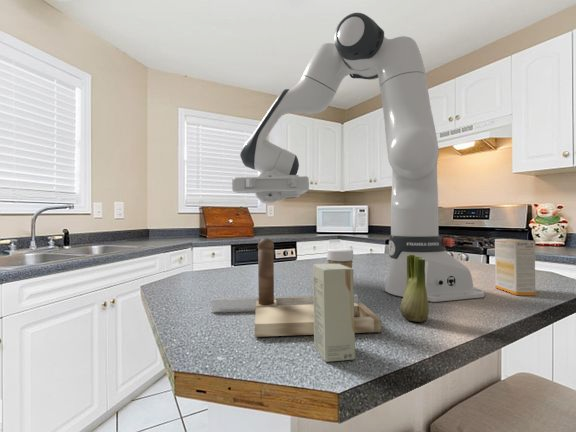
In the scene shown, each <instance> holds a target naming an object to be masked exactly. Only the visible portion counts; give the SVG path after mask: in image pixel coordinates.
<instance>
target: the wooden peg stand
mask: <svg viewBox="0 0 576 432" xmlns="http://www.w3.org/2000/svg"><path fill="white" fill-rule="evenodd" d="M274 248H275V244H274V241H272V239H270V238H267V237H264V238H262V239H260V240H259V241H258V243H257V252H258V253H257V257H258V260H257V261H258V263H257V265H258V267H257V268H258V277H257V278H258V284H257V285H258V297H259V300H258V301H256V311H254V313H255V316H254V337H256V338H258V337H260V338H261V337H279V336H281V337H284V336H285V337H286V336H307V335H313V336H314V304H310V305H277V303H276V300H274V297H275V288H274V287H275V281H274V279H275V278H274V277H275V276H274V275H275V272H274V271H275V270H274V269H275V268H274V267H275V266H274V264H275V261H274V258H275V257H274V255H275V253H274ZM354 329H355V334H360V333H362V334H363V333H382V319H381V318H380V317H378V316H377V314H376V313H374V312H373V310H371V309H369V308H368V307H367V306H366V305H365V304H363V302H358V303H354Z"/></svg>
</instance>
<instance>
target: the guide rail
mask: <svg viewBox="0 0 576 432" xmlns="http://www.w3.org/2000/svg"><path fill="white" fill-rule="evenodd" d="M258 300H259V296H250V297H249V296H248V297H243V296H242V297H217V298H215V297H213V298H212V299H211V313H240V312H243V313H244V312H256V301H258ZM274 300H276V303H277V305H310V304H314V298H313V294H312V295H284V296H282V295H281V296H280V295H279V296H276V295H274ZM354 303H359V295H358V294H356V293H355V294H354Z"/></svg>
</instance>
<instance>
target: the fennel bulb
mask: <svg viewBox="0 0 576 432" xmlns="http://www.w3.org/2000/svg"><path fill="white" fill-rule="evenodd" d="M399 306H400V307H399V309H400V314H401V315H402V316H403V317H404V318H405V319H406V320H408V321H409V322H417V323H418V322H419V323H423V322H425V321H426V320H428V318H429V312H430V307H429V301H428V298H427V293H426V286H425V259H422V257H417V256H415V255H407V282H406V288H405V292H404V297H402V299H401V302H400V305H399Z"/></svg>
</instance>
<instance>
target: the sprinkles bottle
mask: <svg viewBox="0 0 576 432" xmlns="http://www.w3.org/2000/svg"><path fill="white" fill-rule="evenodd" d="M326 260H327V264H341V265H344V266H347V267H350V268H352V269H353V260H354V250H353V249H351V248H345V247H333V248H328V249H327V250H326Z"/></svg>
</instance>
